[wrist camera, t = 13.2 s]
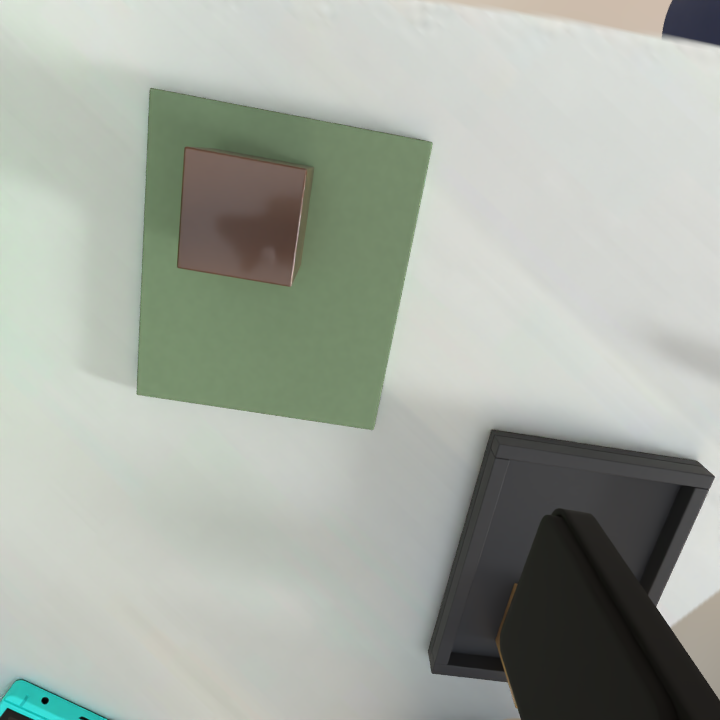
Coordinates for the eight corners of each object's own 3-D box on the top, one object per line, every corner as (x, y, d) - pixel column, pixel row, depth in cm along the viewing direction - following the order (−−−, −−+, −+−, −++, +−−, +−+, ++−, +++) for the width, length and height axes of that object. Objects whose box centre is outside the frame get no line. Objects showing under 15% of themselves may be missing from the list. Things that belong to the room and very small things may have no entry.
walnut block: (212, 147, 24) (183, 145, 20) (314, 166, 24) (307, 168, 20) (204, 250, 25) (176, 268, 21) (300, 266, 25) (291, 287, 21)
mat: (154, 89, 23) (149, 87, 23) (431, 142, 24) (433, 142, 24) (140, 390, 28) (136, 395, 27) (373, 425, 29) (373, 430, 28)
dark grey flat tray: (491, 429, 29) (499, 444, 28) (697, 460, 30) (716, 476, 29) (427, 651, 34) (431, 673, 33) (605, 672, 35) (616, 695, 34)
